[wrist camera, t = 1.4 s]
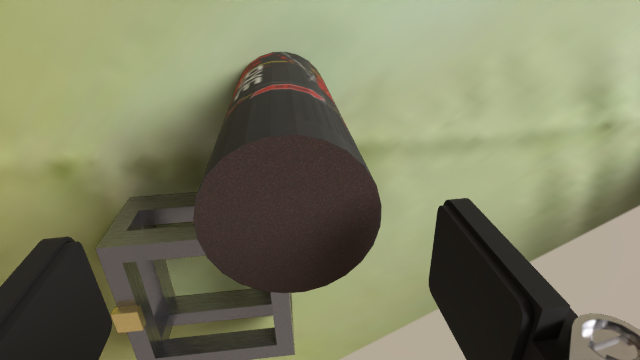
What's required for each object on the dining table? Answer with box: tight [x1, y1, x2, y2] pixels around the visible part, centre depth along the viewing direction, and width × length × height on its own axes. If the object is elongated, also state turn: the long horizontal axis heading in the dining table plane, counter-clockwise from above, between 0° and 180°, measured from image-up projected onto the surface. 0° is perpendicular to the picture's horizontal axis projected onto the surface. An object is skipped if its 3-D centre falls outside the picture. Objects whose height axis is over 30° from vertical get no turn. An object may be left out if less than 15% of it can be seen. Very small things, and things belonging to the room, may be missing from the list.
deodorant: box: [193, 52, 381, 293], centre depth 19 cm, size 6×6×15 cm
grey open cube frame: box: [95, 192, 295, 360], centre depth 27 cm, size 11×11×7 cm
